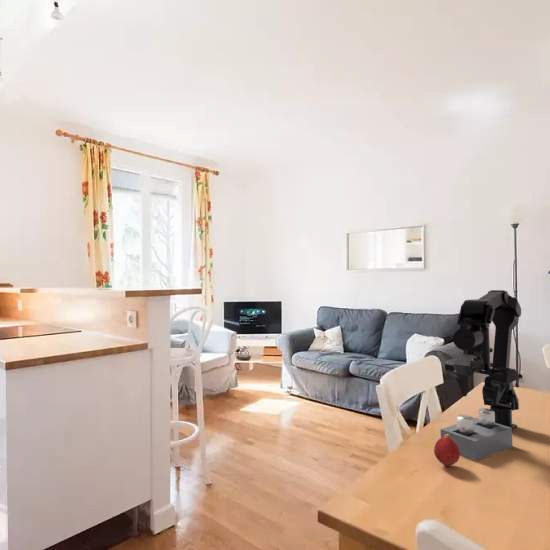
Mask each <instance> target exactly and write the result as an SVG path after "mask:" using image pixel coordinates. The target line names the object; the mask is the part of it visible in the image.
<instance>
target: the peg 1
mask: <svg viewBox="0 0 550 550" xmlns="http://www.w3.org/2000/svg"><path fill="white" fill-rule="evenodd" d="M473 419H474V417H473V416H470V415H468V414H457V415H456V424H457V433H458V434H461V435H464V436H467V437H469V436H472V435H474V432H473Z"/></svg>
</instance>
